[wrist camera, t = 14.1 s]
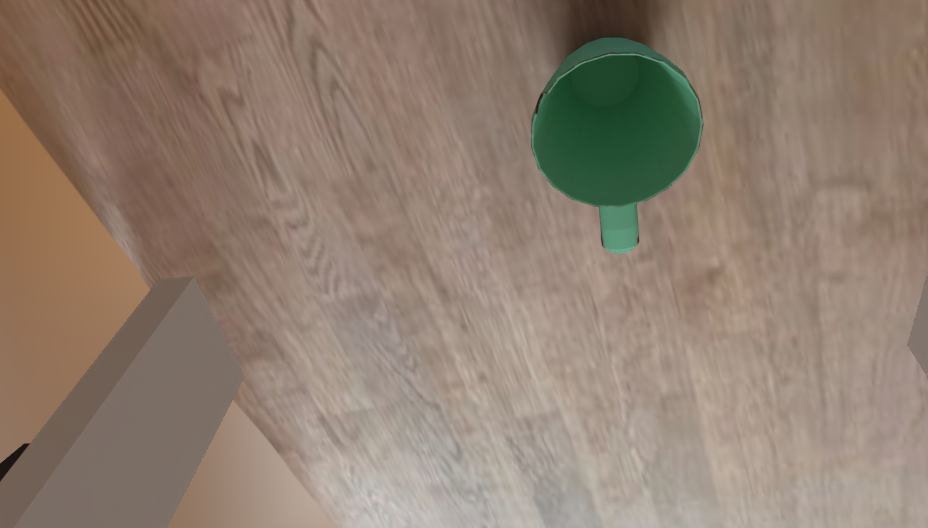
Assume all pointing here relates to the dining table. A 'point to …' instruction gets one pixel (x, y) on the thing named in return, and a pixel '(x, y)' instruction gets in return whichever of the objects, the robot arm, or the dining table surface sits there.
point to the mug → (616, 131)
